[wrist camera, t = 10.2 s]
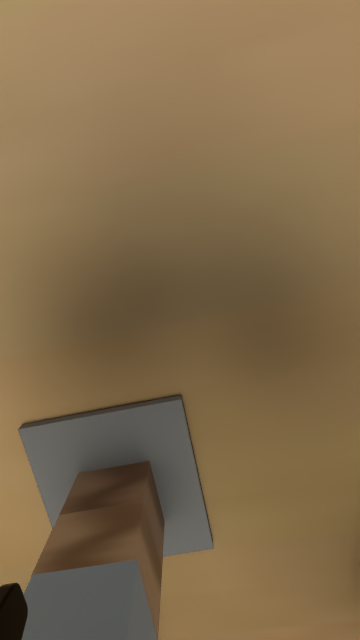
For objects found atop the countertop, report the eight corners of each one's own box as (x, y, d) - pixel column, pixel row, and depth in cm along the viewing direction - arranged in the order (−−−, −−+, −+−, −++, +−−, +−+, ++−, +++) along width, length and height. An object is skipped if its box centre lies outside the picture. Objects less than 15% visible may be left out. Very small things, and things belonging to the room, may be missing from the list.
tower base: (149, 460, 22) (143, 500, 18) (164, 521, 23) (161, 569, 19) (78, 473, 22) (58, 515, 18) (96, 532, 23) (81, 582, 19)
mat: (181, 395, 21) (181, 399, 21) (212, 541, 24) (213, 548, 23) (22, 424, 22) (18, 429, 21) (70, 564, 24) (67, 572, 24)
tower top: (143, 500, 18) (135, 558, 15) (162, 569, 19) (158, 639, 16) (58, 515, 18) (31, 576, 15) (82, 582, 19) (60, 653, 16)
